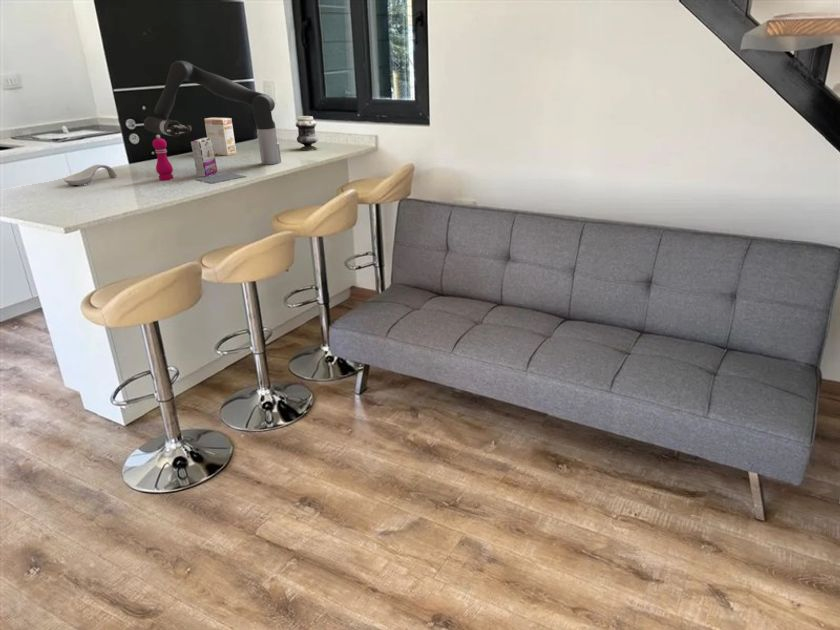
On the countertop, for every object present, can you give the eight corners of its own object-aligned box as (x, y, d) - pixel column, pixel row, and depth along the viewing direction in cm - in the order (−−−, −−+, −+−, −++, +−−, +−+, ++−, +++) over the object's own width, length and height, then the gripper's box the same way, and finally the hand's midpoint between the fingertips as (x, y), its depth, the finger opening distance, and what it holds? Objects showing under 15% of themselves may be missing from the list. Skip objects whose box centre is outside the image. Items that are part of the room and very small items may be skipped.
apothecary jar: (316, 150, 351) (313, 117, 344) (295, 151, 351) (292, 118, 344) (320, 147, 362) (317, 115, 355) (299, 147, 362) (296, 115, 355)
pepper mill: (178, 177, 289) (169, 133, 281) (167, 180, 283) (158, 135, 274) (165, 177, 291) (156, 133, 283) (154, 180, 285) (145, 135, 277)
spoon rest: (76, 188, 274) (72, 172, 271) (60, 186, 279) (55, 170, 276) (122, 178, 293) (118, 163, 290) (105, 176, 298) (101, 161, 295)
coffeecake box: (237, 153, 349) (231, 118, 341) (227, 155, 343) (221, 119, 335) (219, 152, 356) (213, 117, 348) (209, 154, 351) (203, 118, 343)
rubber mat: (230, 173, 295) (229, 172, 294) (246, 176, 286) (246, 176, 286) (195, 179, 283) (195, 179, 283) (211, 183, 274) (211, 182, 274)
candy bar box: (208, 172, 299) (202, 137, 293) (217, 172, 298) (212, 137, 292) (196, 177, 289) (190, 141, 283) (206, 177, 288) (200, 141, 282)
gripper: (156, 121, 297) (173, 123, 287) (182, 118, 306) (199, 121, 295) (159, 137, 300) (176, 140, 290) (184, 134, 309) (202, 137, 298)
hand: (188, 130), depth 292 cm, fingers closed
